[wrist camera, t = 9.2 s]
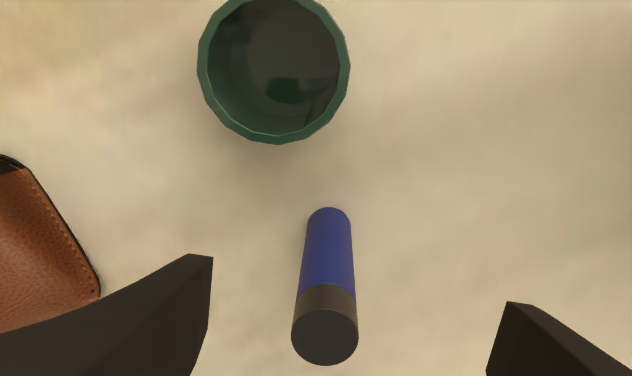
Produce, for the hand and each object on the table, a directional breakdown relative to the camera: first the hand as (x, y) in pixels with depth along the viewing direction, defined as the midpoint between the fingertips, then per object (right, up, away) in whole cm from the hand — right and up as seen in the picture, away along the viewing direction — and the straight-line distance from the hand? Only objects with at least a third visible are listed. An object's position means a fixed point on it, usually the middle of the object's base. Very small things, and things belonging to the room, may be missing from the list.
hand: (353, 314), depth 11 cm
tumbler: (-2, +8, +8) cm, 12 cm away
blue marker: (0, +1, +10) cm, 11 cm away
